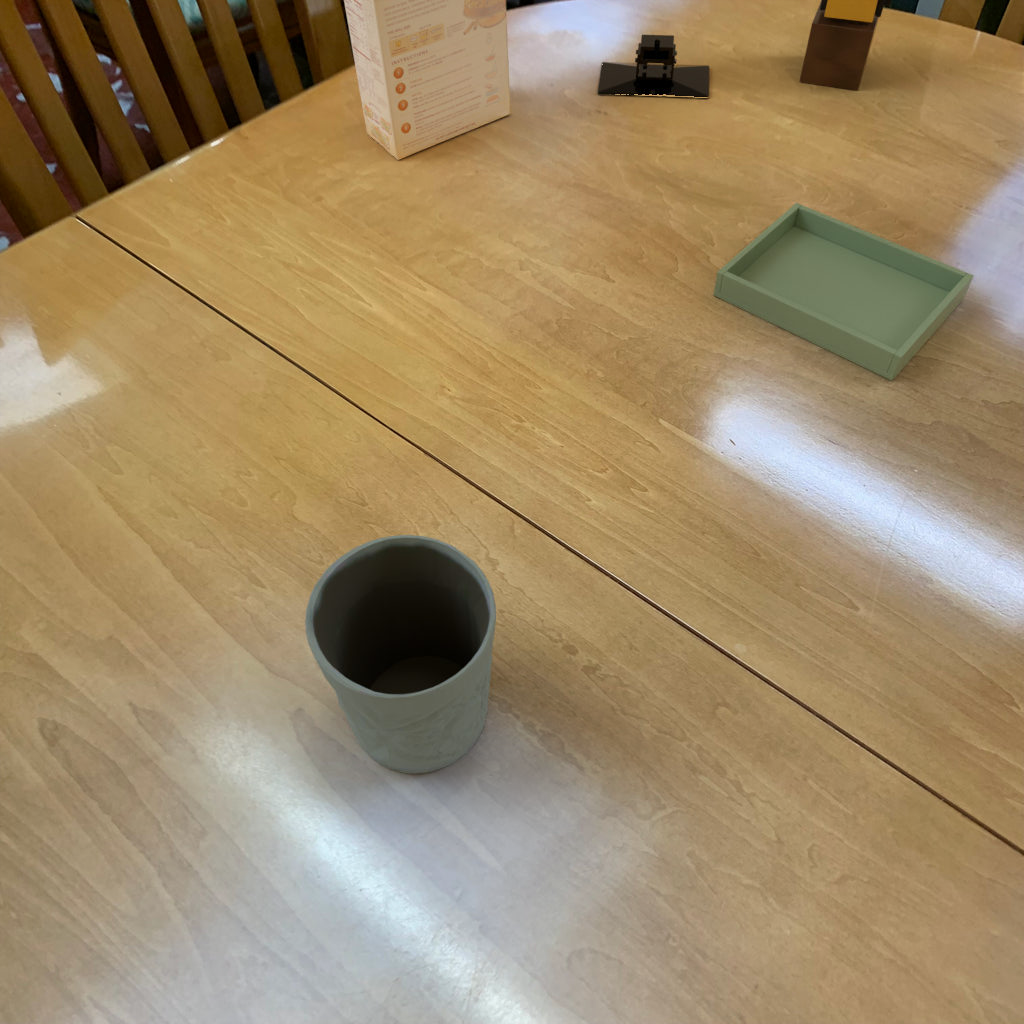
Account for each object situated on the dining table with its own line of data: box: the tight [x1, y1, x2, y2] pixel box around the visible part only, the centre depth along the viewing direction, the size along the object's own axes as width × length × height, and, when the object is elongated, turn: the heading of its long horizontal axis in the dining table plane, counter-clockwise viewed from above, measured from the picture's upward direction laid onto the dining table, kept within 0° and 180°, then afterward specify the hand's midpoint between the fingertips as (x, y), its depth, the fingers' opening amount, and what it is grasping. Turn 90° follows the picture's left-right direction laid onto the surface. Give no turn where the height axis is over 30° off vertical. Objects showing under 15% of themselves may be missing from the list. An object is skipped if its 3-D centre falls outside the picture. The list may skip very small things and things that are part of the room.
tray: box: [713, 202, 975, 381], centre depth 81 cm, size 17×13×3 cm
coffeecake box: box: [343, 0, 512, 161], centre depth 94 cm, size 15×7×20 cm, turn 126°
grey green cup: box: [304, 534, 497, 774], centre depth 54 cm, size 10×10×12 cm
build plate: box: [597, 34, 710, 97], centre depth 104 cm, size 12×7×5 cm, turn 82°
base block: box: [799, 0, 880, 91], centre depth 103 cm, size 6×6×6 cm
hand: (852, 6), depth 100 cm, fingers closed on top block, 5 cm apart
